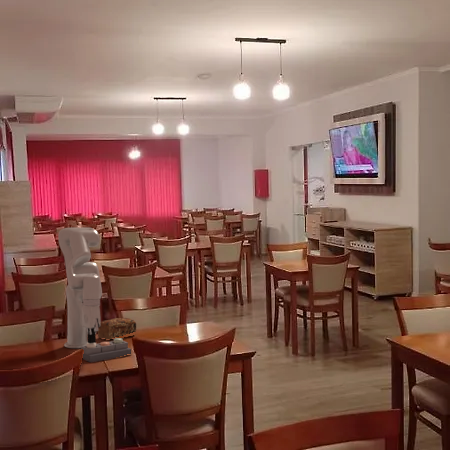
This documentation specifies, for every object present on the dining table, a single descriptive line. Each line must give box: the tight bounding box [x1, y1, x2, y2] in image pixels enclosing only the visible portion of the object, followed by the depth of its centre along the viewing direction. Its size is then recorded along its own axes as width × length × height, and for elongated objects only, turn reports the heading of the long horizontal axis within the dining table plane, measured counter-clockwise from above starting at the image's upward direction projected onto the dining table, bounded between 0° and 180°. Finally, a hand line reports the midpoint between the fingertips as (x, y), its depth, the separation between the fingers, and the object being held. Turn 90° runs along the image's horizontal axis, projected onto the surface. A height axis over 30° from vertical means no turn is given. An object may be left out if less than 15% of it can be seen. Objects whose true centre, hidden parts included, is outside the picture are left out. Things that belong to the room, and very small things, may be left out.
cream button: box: [87, 342, 97, 348], centre depth 275 cm, size 4×4×3 cm
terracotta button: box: [100, 341, 110, 346], centre depth 280 cm, size 4×4×3 cm
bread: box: [96, 317, 137, 339], centre depth 319 cm, size 19×11×10 cm, turn 137°
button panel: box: [80, 340, 132, 363], centre depth 280 cm, size 12×21×6 cm, turn 130°
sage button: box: [113, 338, 124, 344], centre depth 284 cm, size 4×4×3 cm
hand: (91, 342), depth 274 cm, fingers closed
